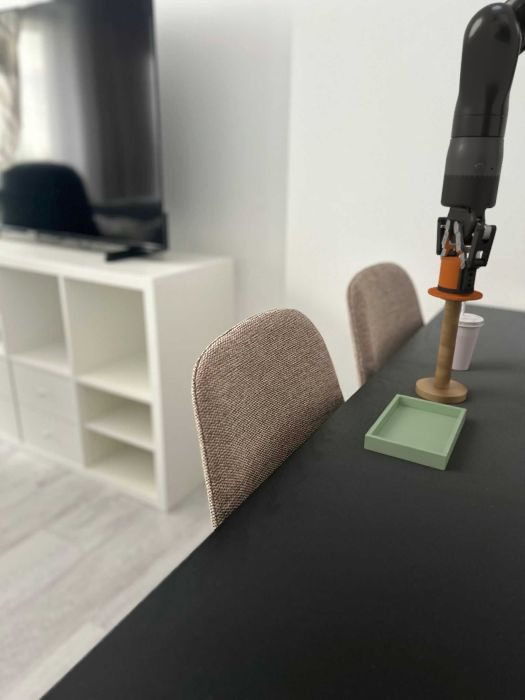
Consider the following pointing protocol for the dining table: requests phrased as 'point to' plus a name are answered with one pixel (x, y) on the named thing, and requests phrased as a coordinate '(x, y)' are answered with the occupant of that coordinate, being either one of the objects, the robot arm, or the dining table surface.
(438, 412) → the tray
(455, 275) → the hat
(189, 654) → the dining table surface
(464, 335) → the smoothie
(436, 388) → the hat stand
